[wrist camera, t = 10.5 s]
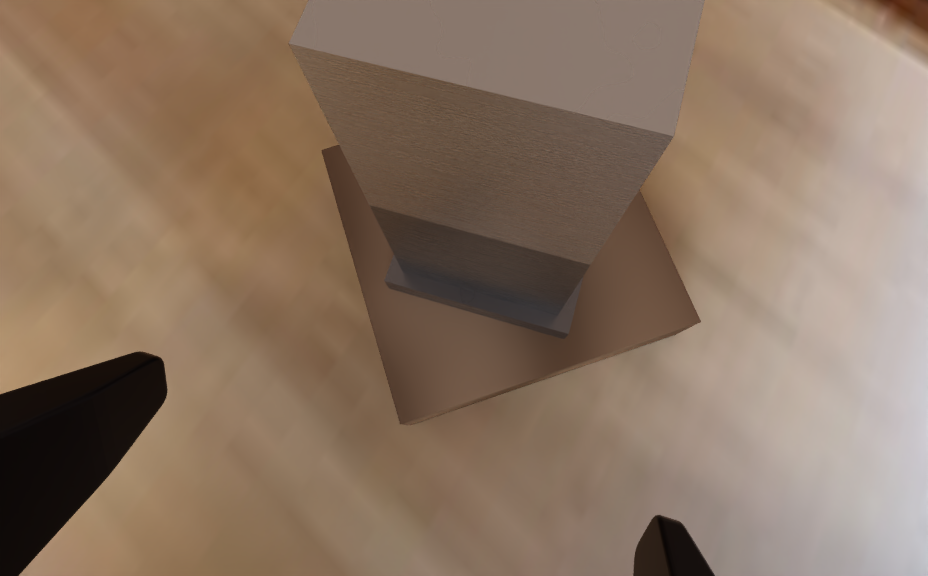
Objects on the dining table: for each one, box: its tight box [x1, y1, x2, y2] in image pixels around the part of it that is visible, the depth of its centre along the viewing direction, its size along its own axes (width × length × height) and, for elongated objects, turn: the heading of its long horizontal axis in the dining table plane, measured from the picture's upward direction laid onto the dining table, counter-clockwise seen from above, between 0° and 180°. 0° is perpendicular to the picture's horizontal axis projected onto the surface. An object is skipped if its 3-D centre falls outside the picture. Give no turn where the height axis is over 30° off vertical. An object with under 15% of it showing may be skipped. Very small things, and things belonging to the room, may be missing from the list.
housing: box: [289, 0, 705, 339], centre depth 14 cm, size 6×6×12 cm
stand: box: [322, 145, 701, 425], centre depth 21 cm, size 11×11×2 cm
